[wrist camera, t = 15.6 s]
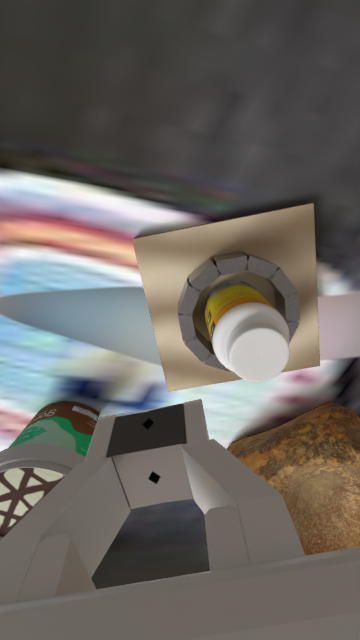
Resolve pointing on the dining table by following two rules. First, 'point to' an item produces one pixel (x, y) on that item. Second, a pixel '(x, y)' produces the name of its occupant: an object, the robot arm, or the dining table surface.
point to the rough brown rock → (313, 474)
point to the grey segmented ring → (227, 265)
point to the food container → (43, 457)
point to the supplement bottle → (246, 331)
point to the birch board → (221, 238)
